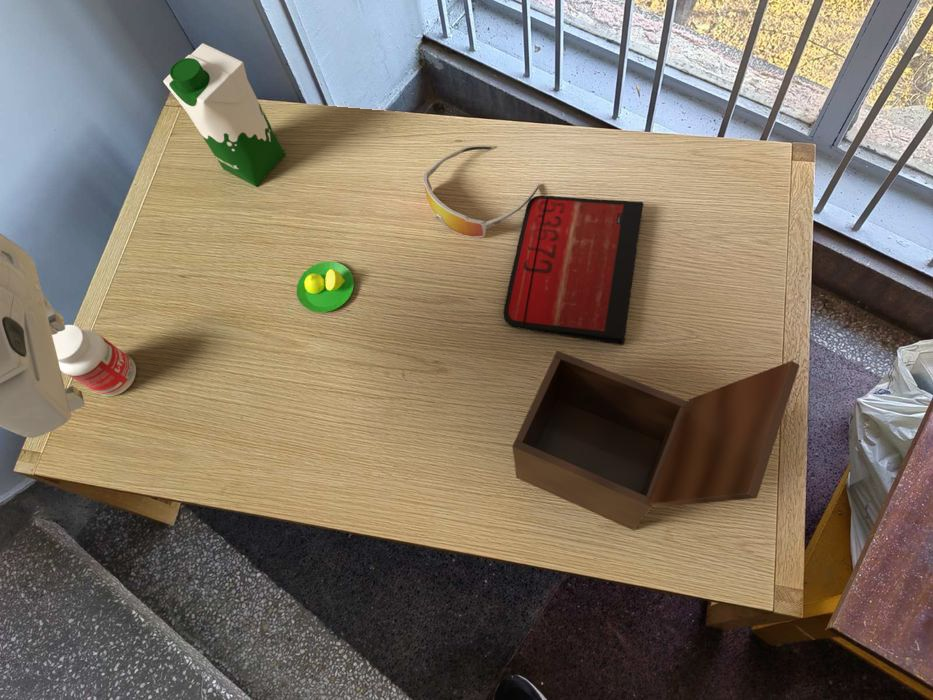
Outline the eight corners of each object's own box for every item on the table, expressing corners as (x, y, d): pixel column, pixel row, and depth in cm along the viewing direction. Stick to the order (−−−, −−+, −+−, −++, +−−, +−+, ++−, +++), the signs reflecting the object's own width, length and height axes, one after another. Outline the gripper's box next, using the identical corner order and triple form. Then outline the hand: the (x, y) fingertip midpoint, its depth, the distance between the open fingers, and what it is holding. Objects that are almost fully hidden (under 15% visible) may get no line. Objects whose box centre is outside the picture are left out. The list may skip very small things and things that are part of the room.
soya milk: (215, 171, 105) (148, 69, 87) (253, 131, 108) (195, 24, 90) (257, 194, 102) (196, 94, 84) (294, 152, 105) (244, 46, 87)
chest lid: (748, 493, 50) (757, 498, 50) (791, 360, 54) (800, 365, 54) (648, 504, 65) (656, 508, 65) (688, 398, 68) (695, 402, 69)
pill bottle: (142, 385, 91) (93, 351, 81) (99, 405, 90) (44, 373, 80) (131, 347, 93) (82, 310, 83) (89, 367, 93) (34, 332, 83)
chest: (516, 477, 81) (512, 446, 69) (554, 394, 85) (556, 350, 73) (634, 530, 77) (651, 506, 65) (668, 440, 81) (691, 402, 69)
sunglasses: (406, 199, 99) (404, 174, 95) (482, 150, 104) (484, 124, 100) (472, 257, 94) (472, 234, 90) (548, 203, 99) (552, 178, 95)
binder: (644, 200, 92) (626, 339, 84) (642, 210, 94) (624, 346, 86) (527, 190, 96) (499, 322, 88) (528, 200, 98) (501, 330, 90)
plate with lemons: (346, 256, 96) (341, 245, 94) (361, 303, 93) (356, 292, 90) (292, 274, 96) (286, 264, 93) (305, 322, 92) (298, 312, 90)
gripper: (-90, 220, 60) (19, 298, 72) (-62, 415, 51) (56, 465, 64) (-20, 191, 60) (75, 272, 73) (19, 378, 52) (120, 434, 64)
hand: (67, 363), depth 68 cm, fingers open, 8 cm apart
